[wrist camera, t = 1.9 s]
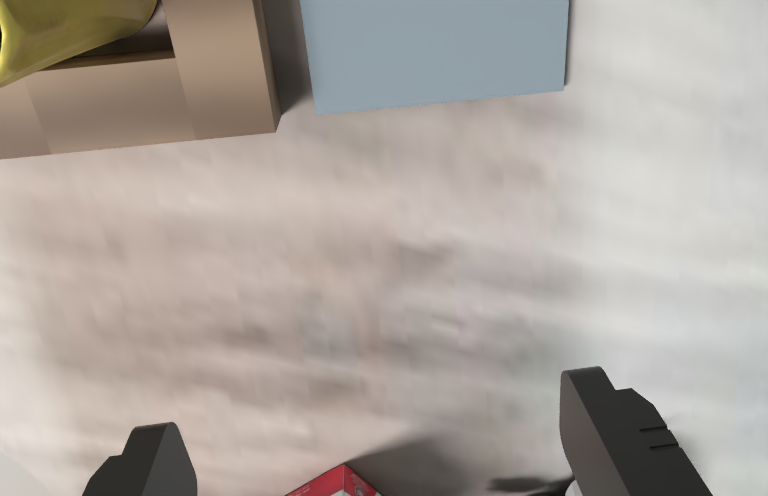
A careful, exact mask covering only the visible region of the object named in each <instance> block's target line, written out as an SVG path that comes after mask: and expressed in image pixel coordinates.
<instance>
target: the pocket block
mask: <svg viewBox="0 0 768 496" xmlns="http://www.w3.org/2000/svg"><path fill="white" fill-rule="evenodd" d="M162 4H163V8H164V12H165V16H166V21H167V25H168V29H169V33H170V37H171V41H172V45H173V49H163V50H153V51H142V52H132V53H122V54H112V55H101V56H91V57H81V58H71V59H65V60H62V61H60V62H57V63H55V64H52V65H50V66H48V67H45V68H43V69H41V70H39V71H37V72H35V73H33V74H30V75H28V76H26V77H23V78H21V79H19V80H17V81H15V82H13V83H11V84H8V85H6V86H4V87H2V88H0V159H9V158H19V157H30V156H40V155H50V154H60V153H70V152H80V151H91V150H101V149H111V148H121V147H131V146H142V145H152V144H162V143H172V142H182V141H193V140H203V139H213V138H223V137H233V136H244V135H254V134H264V133H274V132H276V130H277V127H278V124H279V121H280V118H281V111H280V105H279V99H278V94H277V88H276V82H275V76H274V70H273V64H272V58H271V53H270V47H269V41H268V35H267V29H266V23H265V17H264V12H263V6H262V0H162Z"/></svg>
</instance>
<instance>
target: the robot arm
mask: <svg viewBox="0 0 768 496" xmlns="http://www.w3.org/2000/svg"><path fill="white" fill-rule="evenodd" d="M560 435H561V441H562V445H563V449H564V452H565V455H566V458H567V460H568V462H569V465H570V467H571V469H572V472H573V474H574V476H575V479H576V481H577V484H578V486H579V488H580V491H581V493H582V495H583V496H713V495H712V494H711V492H710V491H709V489H708V488H707V486H706V485H705V483H704V481H703V480H702V478H701V477H700V475H699V474H698V472H697V471H696V469H695V468H694V466H693V465H692V463H691V462H690V460H689V459H688V457H687V455H686V454H685V452H684V451H683V449H682V448H680V447H679V445H678V442H677V440H676V439H675V437H674V436H673V434H672V433H671V431H670V430H668V429H667V425H666V423H665V422H664V420H663V419H662V417H661V416H660V414H659V413H658V411H657V410H656V408H655V407H654V405H653V404H652V403H650V402H649V401H648V400H646V399H645V398H644V397H642V396H641V395H640V394H638V393H637V392H636V391H634V390H633V389H632V388H629V389H622V390H615V389H614V387H613V385H612V383H611V382H610V380H609V378H608V377H607V375H606V373H605V372H604V370H603V369H602V368H601V367H599V366H596V367H589V368H581V369H574V370H566V371H563V372H562V374H561V388H560ZM82 496H197V479H196V474H195V471H194V468H193V466H192V463H191V460H190V458H189V455H188V453H187V450H186V447H185V445H184V442H183V440H182V437H181V434H180V432H179V429H178V427H177V425H176V424H175V423H174V422H168V423H160V424H153V425H146V426H138V427H135V428H134V429H133V430H132V432H131V434H130V436H129V438H128V441H127V443H126V445H125V448H124V450H123V453H122V455H118V456H110V457H109V458H108V459H107V460H106V461H105V462H104V463H103V465H102V466H101V467H100V468H99V469H98V470H97V471H96V472H95V474H94V475H93V476H92V477H91V478H90V480H89V482H88V484H87V486H86V488H85V490H84V493H83V495H82Z"/></svg>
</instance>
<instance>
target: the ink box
mask: <svg viewBox="0 0 768 496" xmlns="http://www.w3.org/2000/svg"><path fill="white" fill-rule="evenodd" d="M286 496H382V495H380V494H379V493H378V492H377V491H376V490H374V489H373V488H372V487H371V486H370V485H369V484H367V483H366V482H365V481H364V480H363V479H362V478H360V477H359V476H358V475H357V474H356V473H355V472H353V471H352V470H351V469H350V468H349V467H347V466H346V465H344V464H343V465H340V466H338V467H336V468H334V469H332V470H330V471H328V472H326V473H325V474H323V475H321V476H319V477H318V478H316V479H314V480H312V481H310V482H309V483H307V484H306V485H304V486H302V487H301V488H299V489H297V490H295V491H293V492H292V493H290V494H288V495H286Z"/></svg>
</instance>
